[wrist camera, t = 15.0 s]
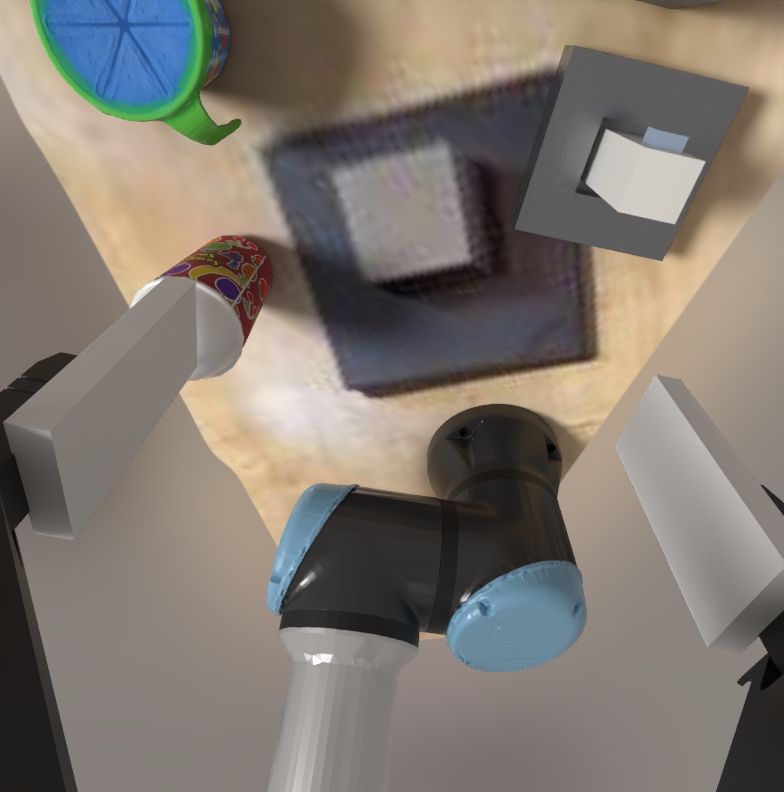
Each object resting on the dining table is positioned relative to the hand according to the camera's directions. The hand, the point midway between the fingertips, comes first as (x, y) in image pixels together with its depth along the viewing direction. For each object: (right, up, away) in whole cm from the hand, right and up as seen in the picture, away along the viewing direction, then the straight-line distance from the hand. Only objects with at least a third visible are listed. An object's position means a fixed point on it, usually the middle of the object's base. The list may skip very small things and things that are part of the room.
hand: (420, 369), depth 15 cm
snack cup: (-17, +27, +25) cm, 41 cm away
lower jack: (+17, +19, +28) cm, 38 cm away
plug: (+17, +18, +27) cm, 37 cm away
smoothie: (-15, +12, +35) cm, 40 cm away
